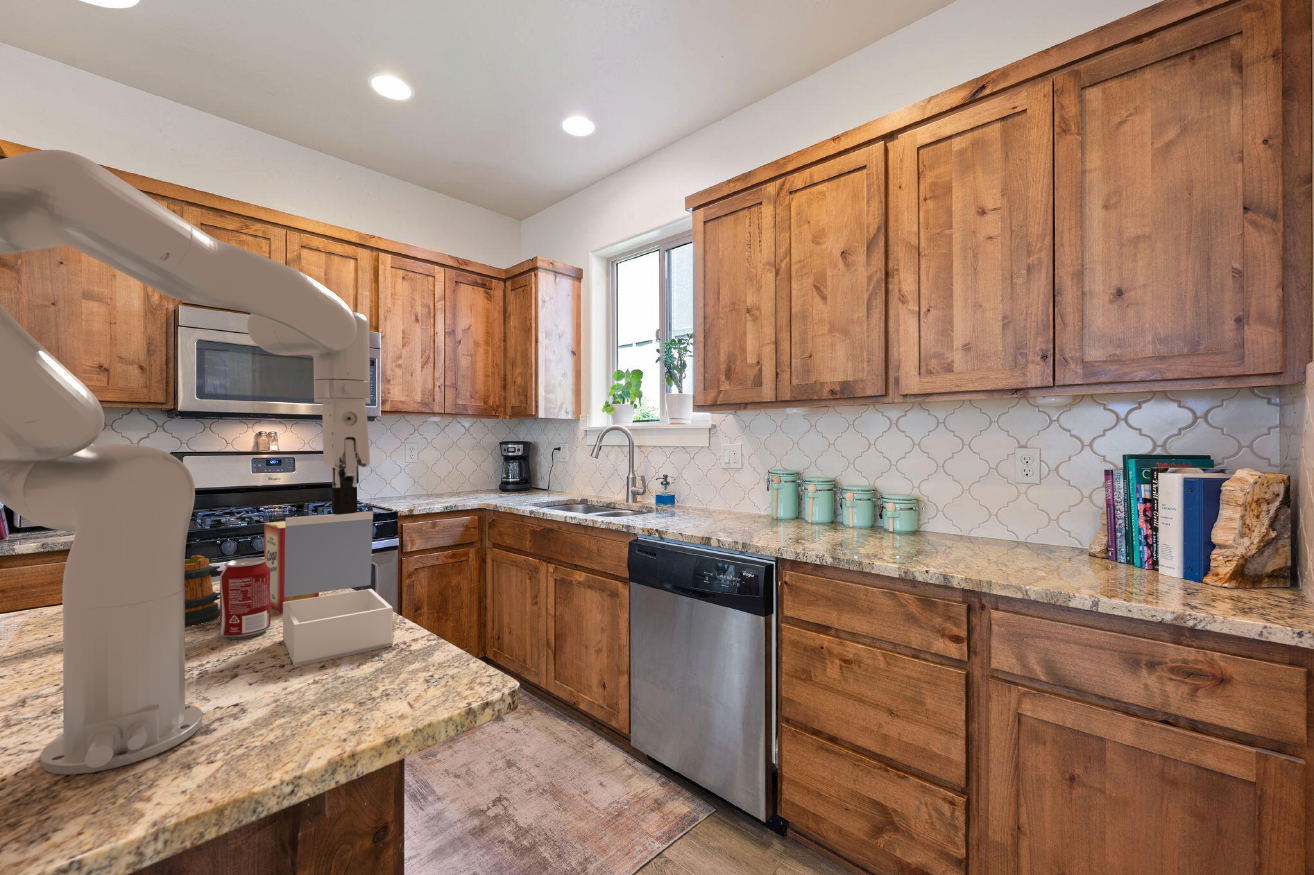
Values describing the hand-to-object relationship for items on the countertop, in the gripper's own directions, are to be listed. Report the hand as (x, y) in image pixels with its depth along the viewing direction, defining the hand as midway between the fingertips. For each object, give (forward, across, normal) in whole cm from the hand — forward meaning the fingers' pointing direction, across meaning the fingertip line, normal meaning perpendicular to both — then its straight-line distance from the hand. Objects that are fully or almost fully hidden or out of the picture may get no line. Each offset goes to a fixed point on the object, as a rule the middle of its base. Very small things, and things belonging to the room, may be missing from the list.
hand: (344, 513), depth 88 cm
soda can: (+21, +18, +12) cm, 30 cm away
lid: (+8, +10, 0) cm, 12 cm away
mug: (+21, +32, +21) cm, 44 cm away
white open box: (+21, +4, +1) cm, 21 cm away
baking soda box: (+21, +32, +4) cm, 39 cm away
